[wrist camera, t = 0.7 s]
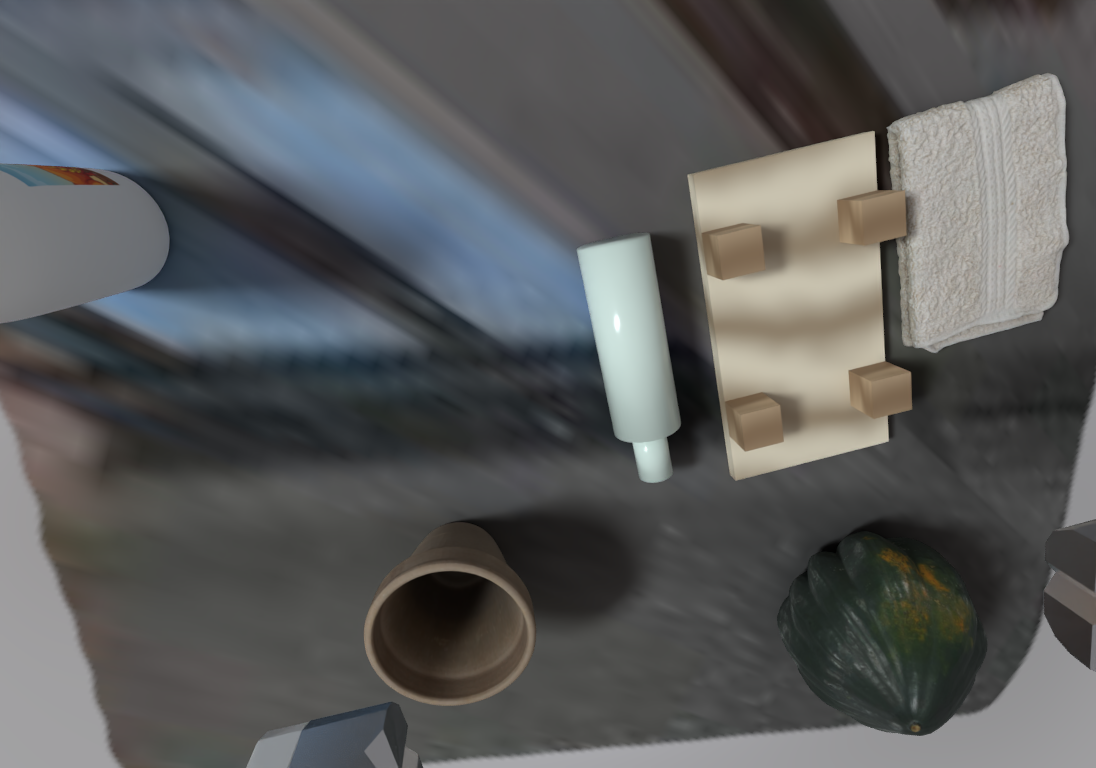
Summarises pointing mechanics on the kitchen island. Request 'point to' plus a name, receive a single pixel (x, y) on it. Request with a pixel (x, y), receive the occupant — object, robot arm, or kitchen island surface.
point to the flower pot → (451, 620)
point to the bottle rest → (799, 302)
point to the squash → (884, 633)
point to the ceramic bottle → (632, 347)
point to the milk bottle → (73, 238)
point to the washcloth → (981, 212)
